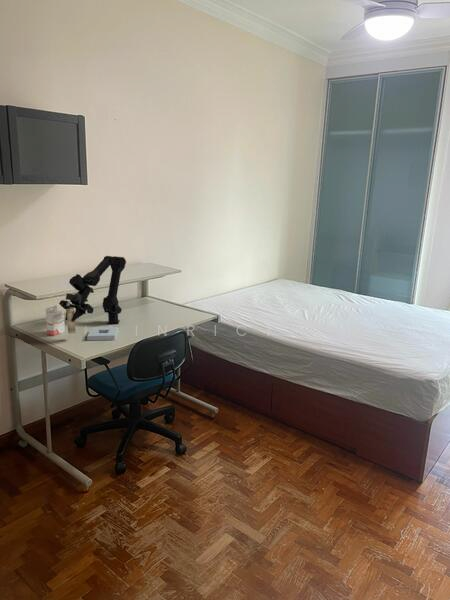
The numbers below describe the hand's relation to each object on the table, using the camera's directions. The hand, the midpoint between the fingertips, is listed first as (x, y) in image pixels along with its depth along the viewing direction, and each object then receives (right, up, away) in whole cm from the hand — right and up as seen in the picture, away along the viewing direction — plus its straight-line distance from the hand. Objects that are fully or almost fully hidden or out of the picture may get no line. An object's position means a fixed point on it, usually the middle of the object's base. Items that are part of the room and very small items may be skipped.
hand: (69, 320), depth 228 cm
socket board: (+15, -9, +10) cm, 20 cm away
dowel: (0, -6, +3) cm, 7 cm away
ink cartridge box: (-12, -8, +13) cm, 19 cm away
